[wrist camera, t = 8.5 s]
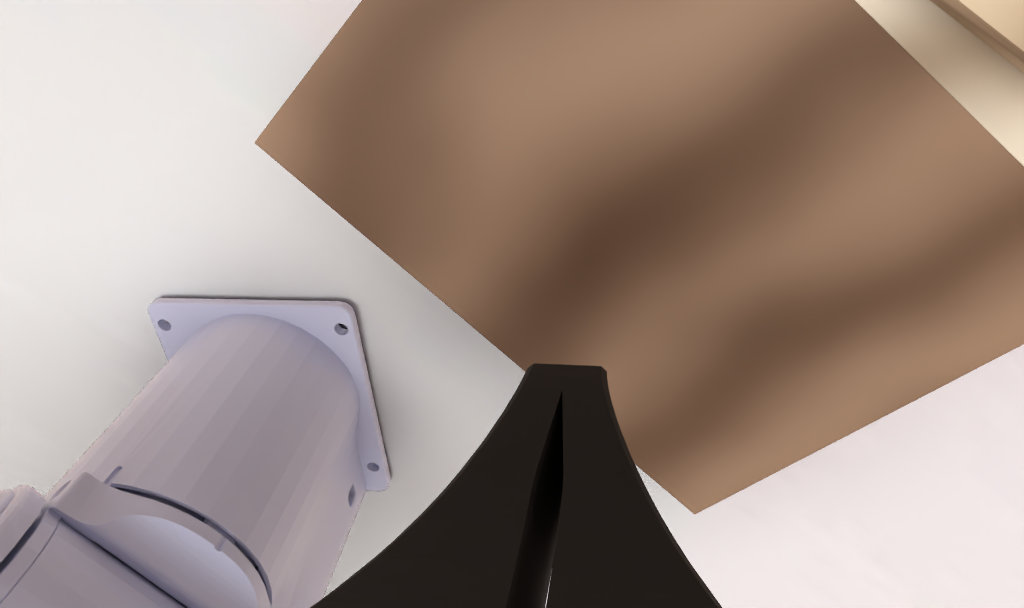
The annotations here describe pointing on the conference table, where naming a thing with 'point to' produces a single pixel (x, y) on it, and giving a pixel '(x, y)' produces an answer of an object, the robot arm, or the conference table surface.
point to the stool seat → (688, 203)
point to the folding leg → (992, 24)
